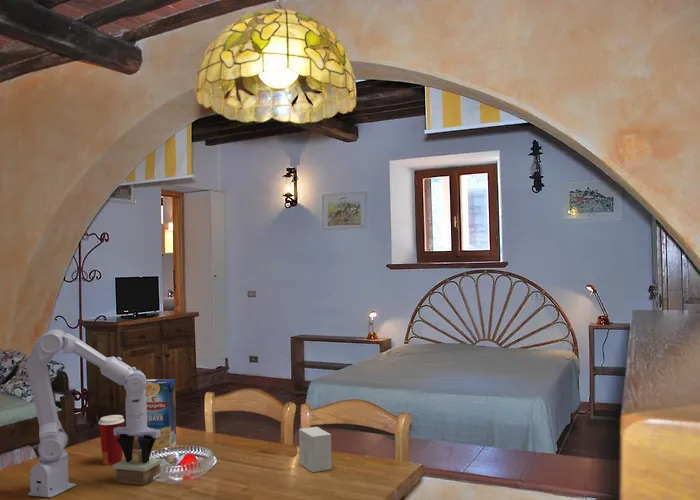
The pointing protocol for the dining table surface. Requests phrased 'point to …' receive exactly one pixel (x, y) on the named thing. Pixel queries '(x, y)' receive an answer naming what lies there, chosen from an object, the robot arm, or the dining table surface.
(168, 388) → the beverage box
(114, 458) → the paper cup
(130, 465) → the lid
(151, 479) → the box
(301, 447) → the skincare box
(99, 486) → the dining table surface
